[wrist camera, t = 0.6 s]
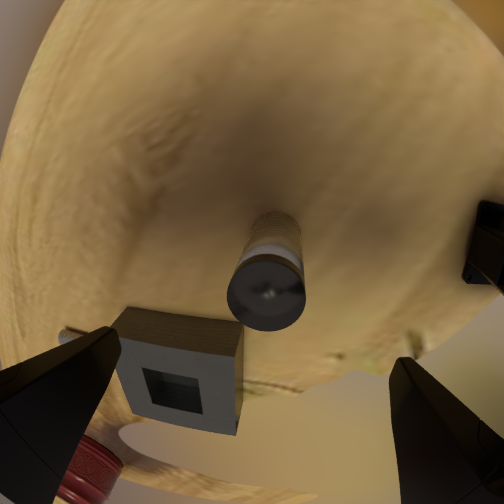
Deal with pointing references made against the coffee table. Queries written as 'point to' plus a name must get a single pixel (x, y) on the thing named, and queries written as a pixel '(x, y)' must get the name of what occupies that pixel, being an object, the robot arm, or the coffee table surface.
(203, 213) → the coffee table surface
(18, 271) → the coffee table surface
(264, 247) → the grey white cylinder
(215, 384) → the chuck block
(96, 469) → the canister
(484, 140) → the coffee table surface
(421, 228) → the coffee table surface
